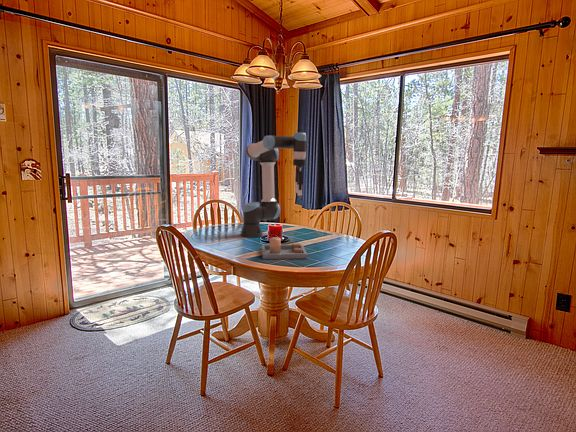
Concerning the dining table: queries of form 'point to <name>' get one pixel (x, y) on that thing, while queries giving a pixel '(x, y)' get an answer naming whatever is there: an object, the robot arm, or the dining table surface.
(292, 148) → the robot arm
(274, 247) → the tan u-shaped piece
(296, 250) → the cube
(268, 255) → the tray
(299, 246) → the cube
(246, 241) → the dining table surface
